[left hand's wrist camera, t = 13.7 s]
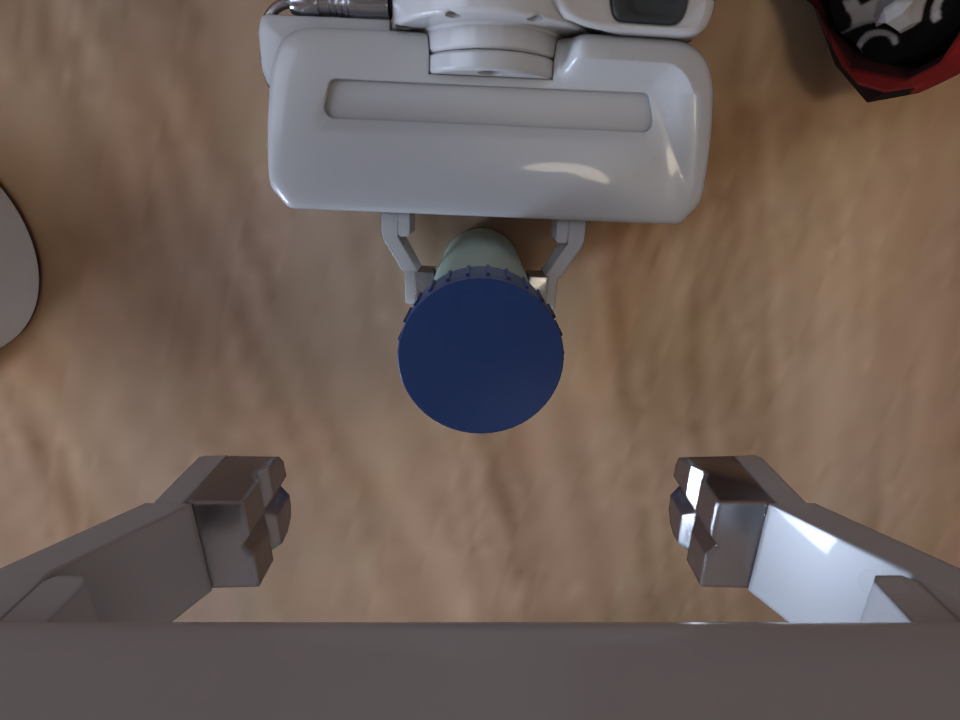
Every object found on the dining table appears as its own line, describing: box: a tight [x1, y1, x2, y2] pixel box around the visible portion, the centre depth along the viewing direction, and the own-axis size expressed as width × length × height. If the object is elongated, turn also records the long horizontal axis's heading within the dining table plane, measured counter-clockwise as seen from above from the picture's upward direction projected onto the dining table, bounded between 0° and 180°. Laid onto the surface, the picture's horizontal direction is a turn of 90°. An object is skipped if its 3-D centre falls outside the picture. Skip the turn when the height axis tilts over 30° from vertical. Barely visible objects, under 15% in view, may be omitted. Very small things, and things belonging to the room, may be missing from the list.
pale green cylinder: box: [434, 228, 529, 283], centre depth 25 cm, size 5×5×16 cm
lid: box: [397, 264, 564, 433], centre depth 18 cm, size 6×6×2 cm
